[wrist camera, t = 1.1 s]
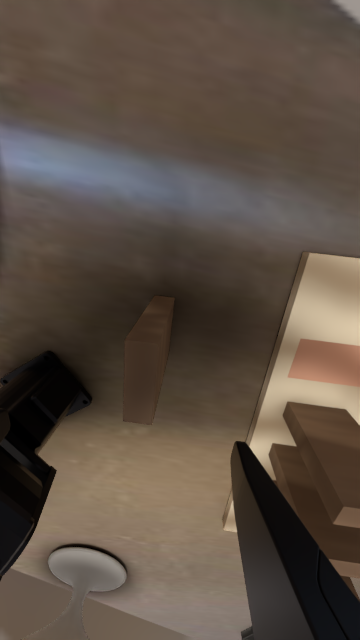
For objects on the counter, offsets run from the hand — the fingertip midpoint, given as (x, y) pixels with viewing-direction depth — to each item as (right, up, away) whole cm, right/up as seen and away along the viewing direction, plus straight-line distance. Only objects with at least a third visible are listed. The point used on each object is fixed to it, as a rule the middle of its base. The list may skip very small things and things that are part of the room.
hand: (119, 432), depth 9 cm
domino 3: (+13, -8, +13) cm, 20 cm away
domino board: (+14, -6, +13) cm, 20 cm away
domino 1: (+1, +4, +10) cm, 11 cm away
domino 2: (+14, -4, +11) cm, 18 cm away
